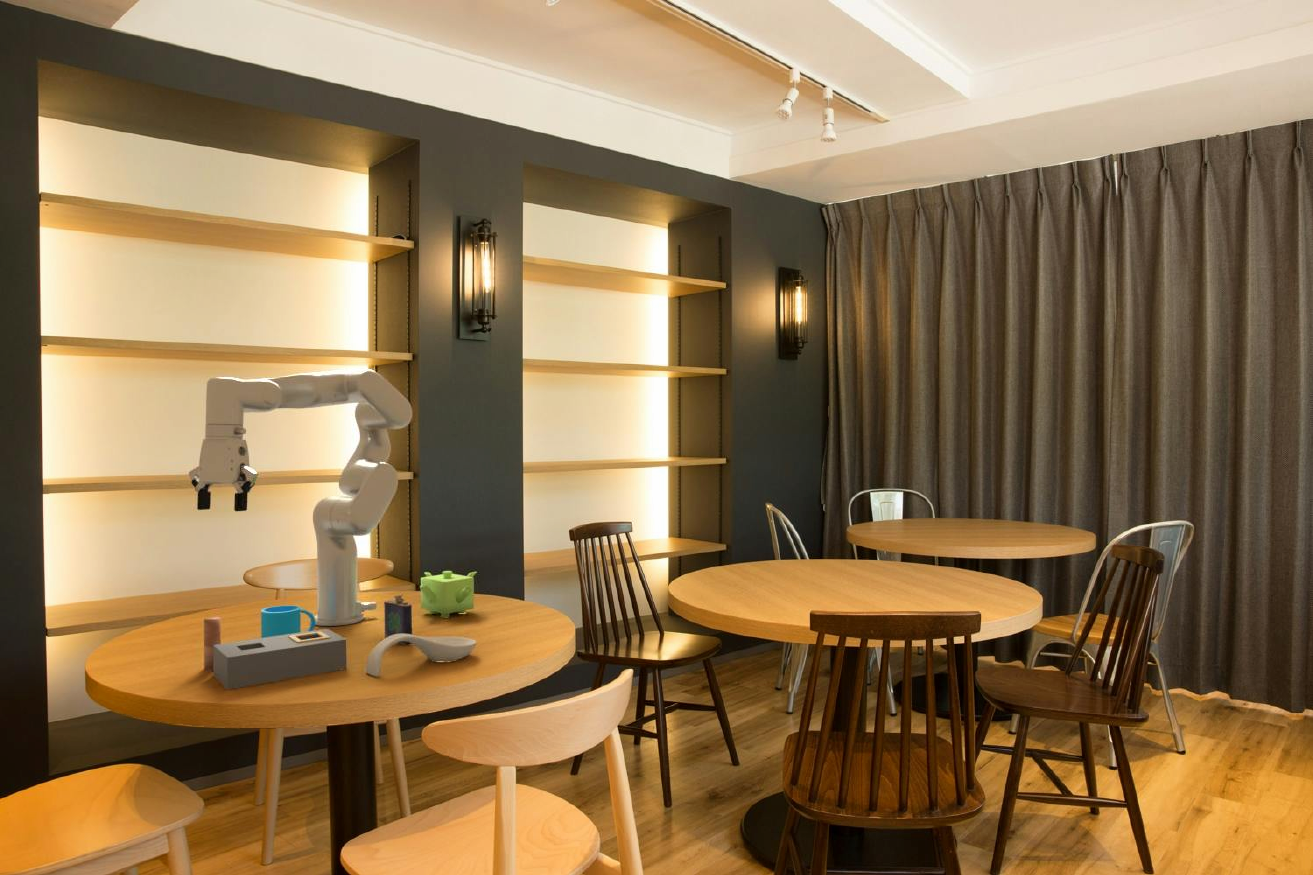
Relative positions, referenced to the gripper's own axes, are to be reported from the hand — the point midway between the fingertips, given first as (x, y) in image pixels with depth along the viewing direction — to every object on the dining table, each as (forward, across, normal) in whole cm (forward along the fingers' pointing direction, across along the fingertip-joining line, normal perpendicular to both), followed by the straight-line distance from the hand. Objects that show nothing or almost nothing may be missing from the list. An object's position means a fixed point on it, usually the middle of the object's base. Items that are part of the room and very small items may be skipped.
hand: (222, 510), depth 189 cm
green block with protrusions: (+29, -32, -46) cm, 63 cm away
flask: (+30, -35, -16) cm, 49 cm away
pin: (+31, -10, +13) cm, 35 cm away
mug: (+31, -12, -8) cm, 34 cm away
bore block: (+31, -26, +12) cm, 42 cm away
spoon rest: (+31, -50, -1) cm, 59 cm away
